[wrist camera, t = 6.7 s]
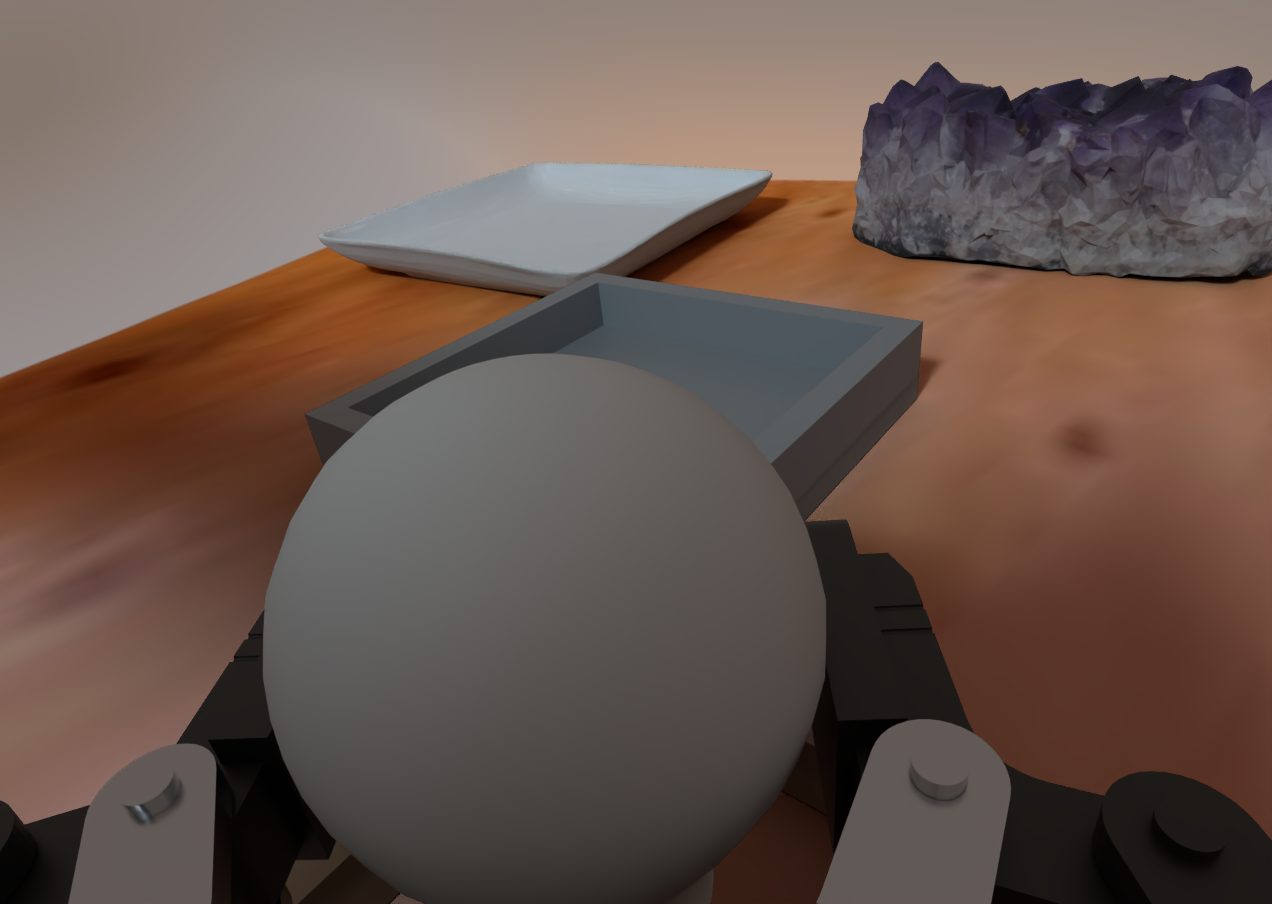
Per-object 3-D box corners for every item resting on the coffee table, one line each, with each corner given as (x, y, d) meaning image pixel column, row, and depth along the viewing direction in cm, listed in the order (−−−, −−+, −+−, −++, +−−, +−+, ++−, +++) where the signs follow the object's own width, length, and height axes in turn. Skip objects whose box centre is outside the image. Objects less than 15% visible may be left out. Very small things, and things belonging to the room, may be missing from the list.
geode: (812, 275, 42) (815, 67, 38) (876, 241, 51) (884, 69, 47) (1298, 294, 32) (1369, 11, 28) (1273, 247, 41) (1324, 27, 37)
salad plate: (781, 216, 53) (780, 162, 52) (593, 334, 39) (583, 265, 37) (540, 201, 65) (533, 157, 63) (325, 289, 50) (307, 235, 48)
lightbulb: (650, 759, 17) (578, 247, 11) (898, 995, 13) (978, 356, 7) (381, 966, 14) (101, 401, 8) (589, 1370, 10) (295, 762, 4)
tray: (331, 489, 28) (304, 414, 26) (603, 334, 38) (595, 272, 36) (681, 654, 19) (671, 556, 18) (916, 398, 29) (923, 321, 28)
